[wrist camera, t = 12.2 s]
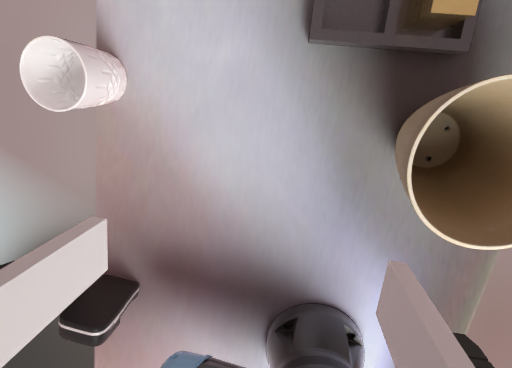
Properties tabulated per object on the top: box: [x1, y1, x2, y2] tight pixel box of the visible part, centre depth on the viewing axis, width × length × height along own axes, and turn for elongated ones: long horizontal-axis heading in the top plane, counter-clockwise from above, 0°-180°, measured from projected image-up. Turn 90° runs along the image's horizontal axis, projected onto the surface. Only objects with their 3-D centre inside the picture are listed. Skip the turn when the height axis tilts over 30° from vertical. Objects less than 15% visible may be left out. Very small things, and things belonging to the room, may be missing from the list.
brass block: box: [404, 0, 479, 31], centre depth 34 cm, size 4×4×8 cm
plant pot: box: [395, 74, 512, 250], centre depth 34 cm, size 15×15×16 cm
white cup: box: [19, 35, 127, 112], centre depth 40 cm, size 8×8×10 cm
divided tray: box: [309, 0, 482, 55], centre depth 37 cm, size 8×18×3 cm, turn 85°
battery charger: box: [58, 275, 139, 346], centre depth 49 cm, size 7×4×11 cm, turn 78°
